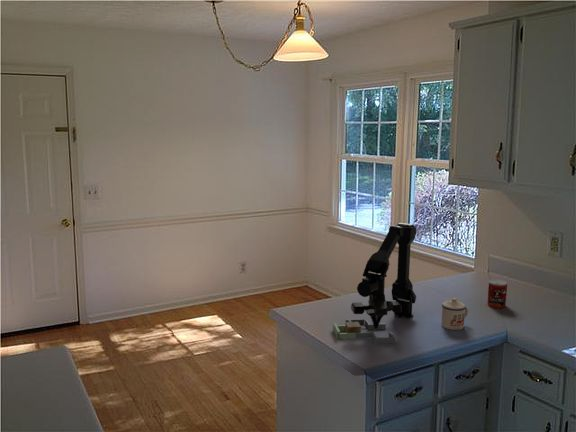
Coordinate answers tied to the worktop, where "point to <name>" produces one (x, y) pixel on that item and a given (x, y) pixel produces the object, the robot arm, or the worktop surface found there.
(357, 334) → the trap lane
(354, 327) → the walnut block
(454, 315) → the teacup with lid
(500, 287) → the canned food
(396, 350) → the worktop surface
